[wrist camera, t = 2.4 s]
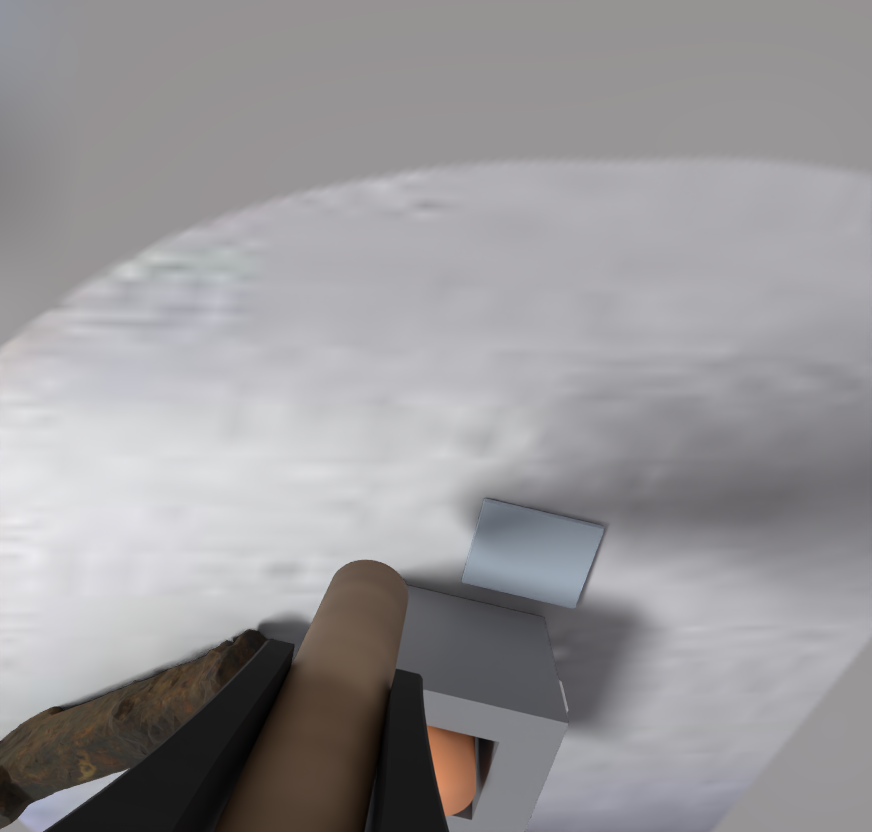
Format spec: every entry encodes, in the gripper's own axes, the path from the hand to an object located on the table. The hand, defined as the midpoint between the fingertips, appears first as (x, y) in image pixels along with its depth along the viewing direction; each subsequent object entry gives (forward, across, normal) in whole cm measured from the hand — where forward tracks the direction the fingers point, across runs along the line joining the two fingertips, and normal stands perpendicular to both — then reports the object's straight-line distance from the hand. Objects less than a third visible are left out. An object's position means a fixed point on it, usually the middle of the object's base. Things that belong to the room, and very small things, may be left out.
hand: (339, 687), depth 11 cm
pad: (+8, -6, 0) cm, 10 cm away
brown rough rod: (+9, +11, +14) cm, 20 cm away
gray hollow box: (+8, -4, +6) cm, 11 cm away
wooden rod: (+3, 0, 0) cm, 3 cm away
